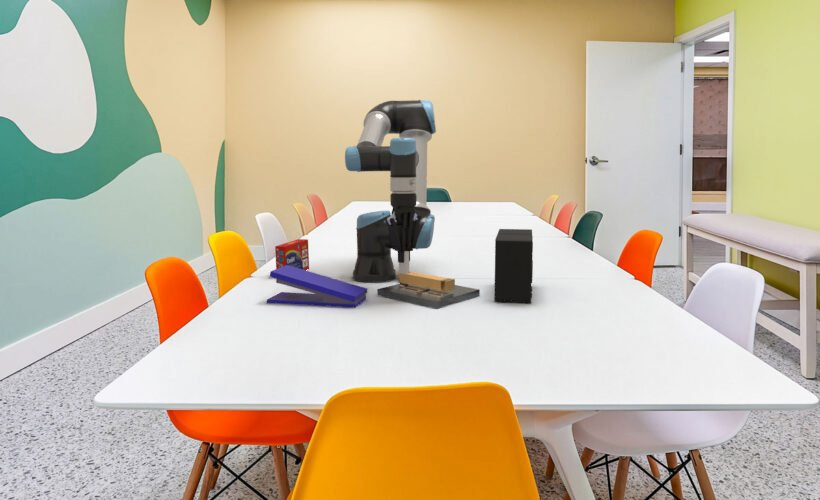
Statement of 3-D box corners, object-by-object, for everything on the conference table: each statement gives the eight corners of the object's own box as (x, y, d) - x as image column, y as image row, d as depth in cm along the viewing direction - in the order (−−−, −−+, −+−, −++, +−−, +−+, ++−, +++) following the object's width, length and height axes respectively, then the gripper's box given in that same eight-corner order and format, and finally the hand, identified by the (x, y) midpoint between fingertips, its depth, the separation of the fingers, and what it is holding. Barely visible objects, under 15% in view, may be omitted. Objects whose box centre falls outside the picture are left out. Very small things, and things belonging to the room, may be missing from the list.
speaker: (532, 304, 168) (533, 240, 165) (494, 302, 170) (495, 239, 167) (531, 285, 192) (533, 229, 189) (498, 284, 194) (499, 228, 191)
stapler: (282, 295, 182) (281, 264, 180) (368, 300, 175) (368, 267, 174) (265, 304, 171) (263, 271, 169) (356, 309, 164) (355, 275, 163)
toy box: (299, 269, 222) (298, 239, 220) (309, 269, 221) (308, 239, 219) (276, 278, 205) (275, 246, 203) (286, 279, 204) (285, 246, 202)
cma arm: (395, 282, 183) (395, 272, 183) (404, 280, 186) (404, 270, 186) (446, 292, 170) (446, 281, 169) (454, 289, 172) (454, 279, 172)
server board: (377, 295, 179) (377, 286, 179) (420, 284, 194) (420, 276, 194) (437, 308, 163) (437, 299, 163) (479, 295, 178) (479, 287, 177)
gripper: (397, 193, 161) (397, 278, 164) (428, 191, 170) (428, 271, 174) (378, 192, 166) (379, 274, 169) (409, 191, 175) (409, 268, 179)
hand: (404, 273), depth 171 cm, fingers closed
